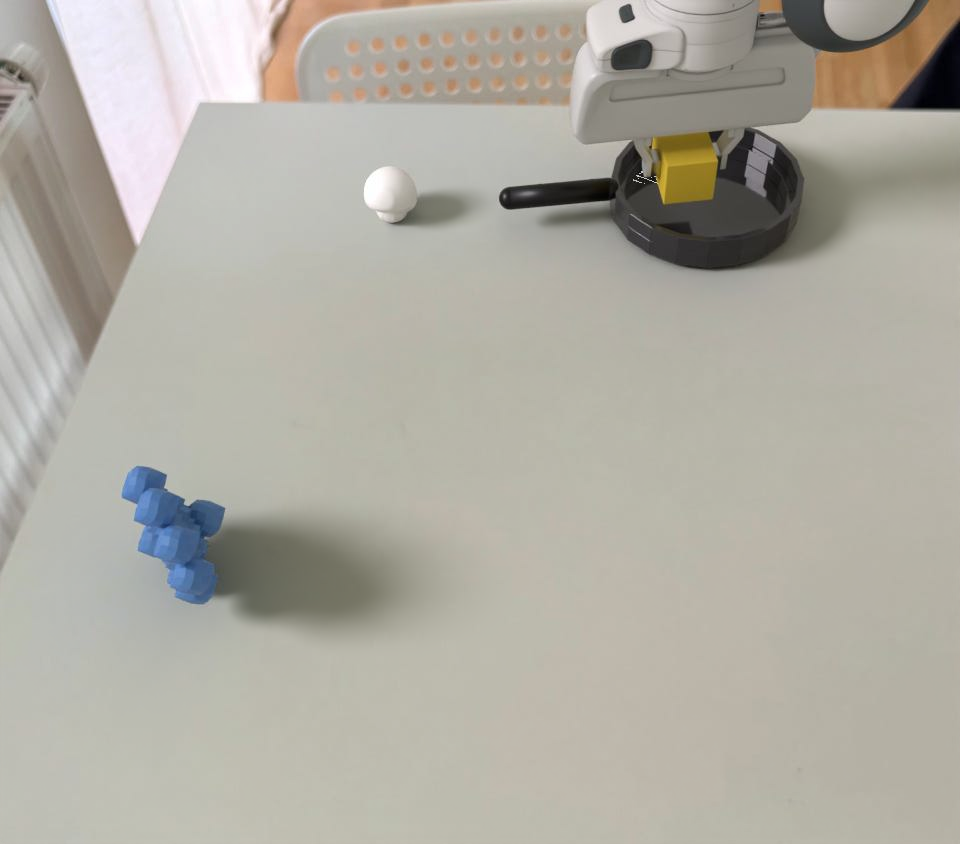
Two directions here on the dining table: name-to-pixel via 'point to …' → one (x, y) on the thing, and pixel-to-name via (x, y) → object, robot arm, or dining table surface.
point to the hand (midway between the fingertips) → (682, 169)
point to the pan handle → (558, 193)
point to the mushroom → (390, 193)
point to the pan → (714, 206)
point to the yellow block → (686, 167)
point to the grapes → (175, 532)
